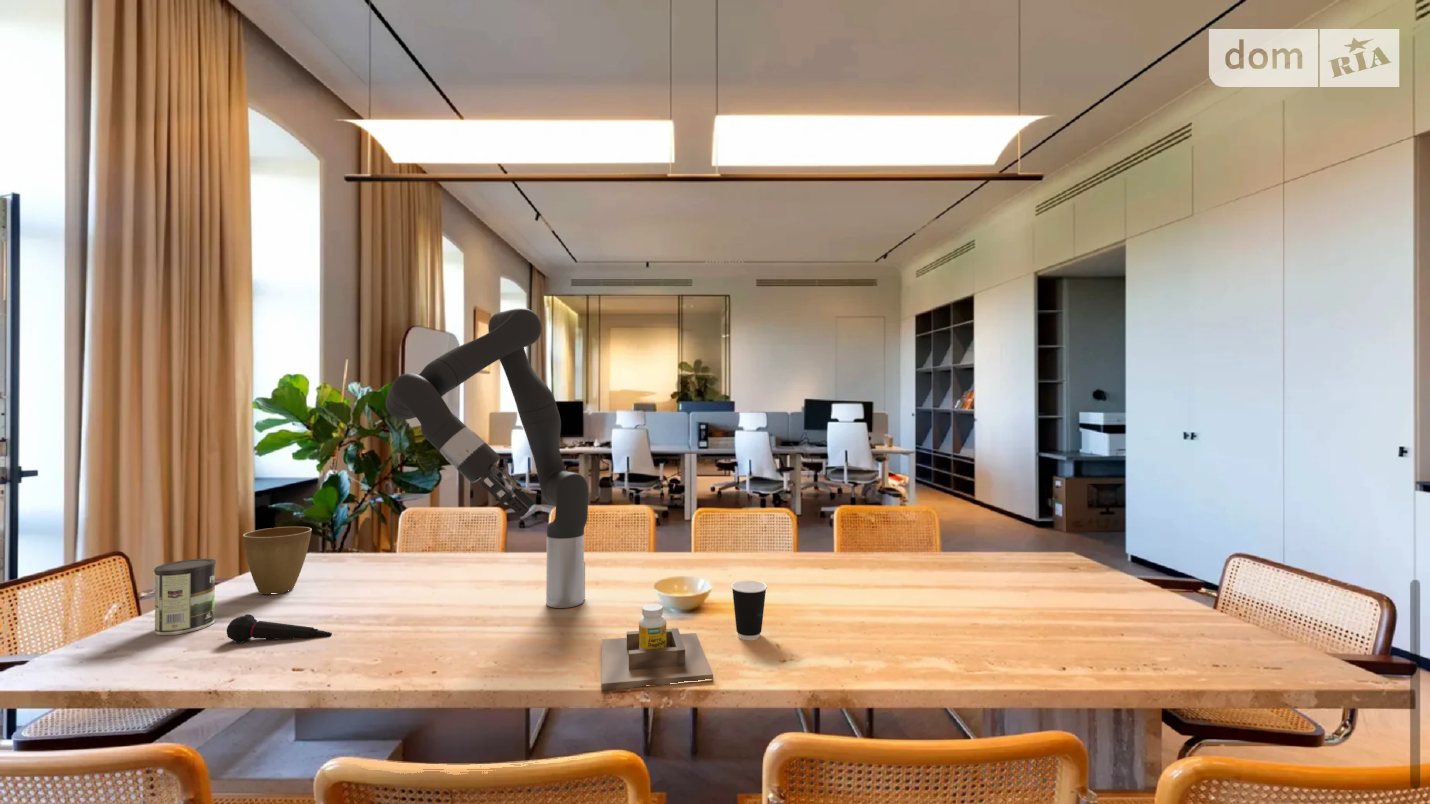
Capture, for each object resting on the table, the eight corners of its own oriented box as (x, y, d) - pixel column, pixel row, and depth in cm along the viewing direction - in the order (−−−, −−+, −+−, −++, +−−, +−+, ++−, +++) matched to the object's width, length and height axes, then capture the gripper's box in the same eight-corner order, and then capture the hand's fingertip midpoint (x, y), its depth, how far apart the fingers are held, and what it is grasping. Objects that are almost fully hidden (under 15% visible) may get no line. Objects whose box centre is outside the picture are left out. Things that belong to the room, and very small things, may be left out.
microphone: (332, 647, 129) (231, 641, 126) (340, 619, 131) (241, 613, 128) (322, 649, 124) (216, 643, 121) (330, 620, 126) (226, 613, 123)
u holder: (601, 690, 104) (601, 666, 104) (601, 645, 123) (601, 625, 123) (713, 681, 107) (713, 657, 107) (695, 638, 127) (696, 619, 127)
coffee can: (211, 615, 140) (212, 555, 140) (218, 626, 133) (219, 563, 133) (151, 627, 132) (152, 564, 132) (155, 639, 125) (156, 573, 125)
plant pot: (284, 600, 151) (285, 537, 151) (227, 599, 151) (227, 537, 151) (323, 582, 166) (324, 525, 166) (271, 582, 166) (272, 525, 166)
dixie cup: (771, 641, 126) (772, 589, 126) (736, 644, 124) (736, 592, 124) (760, 627, 133) (761, 579, 133) (726, 630, 132) (727, 581, 132)
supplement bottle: (658, 648, 119) (658, 600, 119) (671, 657, 114) (671, 608, 114) (634, 654, 116) (634, 605, 116) (646, 664, 111) (646, 613, 111)
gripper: (476, 443, 113) (538, 502, 115) (490, 439, 127) (545, 491, 129) (446, 471, 112) (509, 530, 114) (464, 464, 126) (519, 516, 128)
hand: (528, 509), depth 121 cm, fingers open, 8 cm apart
